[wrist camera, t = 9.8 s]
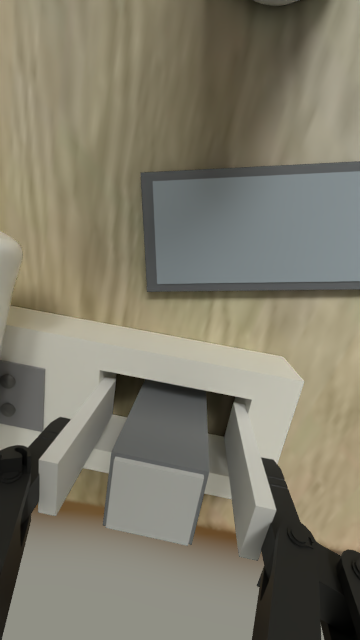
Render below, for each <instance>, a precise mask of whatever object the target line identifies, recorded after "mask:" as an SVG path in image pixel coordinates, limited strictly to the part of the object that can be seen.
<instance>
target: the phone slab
mask: <svg viewBox="0 0 360 640" xmlns="http://www.w3.org/2000/svg"><path fill="white" fill-rule="evenodd" d="M141 189H142V207H143V225H144V243H145V261H146V279H147V292H159V291H250V290H341V289H360V161H359V162H339V163H320V164H300V165H281V166H261V167H242V168H222V169H203V170H183V171H164V172H144V173H141Z"/></svg>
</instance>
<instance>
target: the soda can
mask: <svg viewBox="0 0 360 640" xmlns="http://www.w3.org/2000/svg"><path fill="white" fill-rule="evenodd" d="M253 1H256V2H258V3H261V4H265V5H272V6H281V5H286V4H290V3H293V2H296V1H299V0H253Z"/></svg>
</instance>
